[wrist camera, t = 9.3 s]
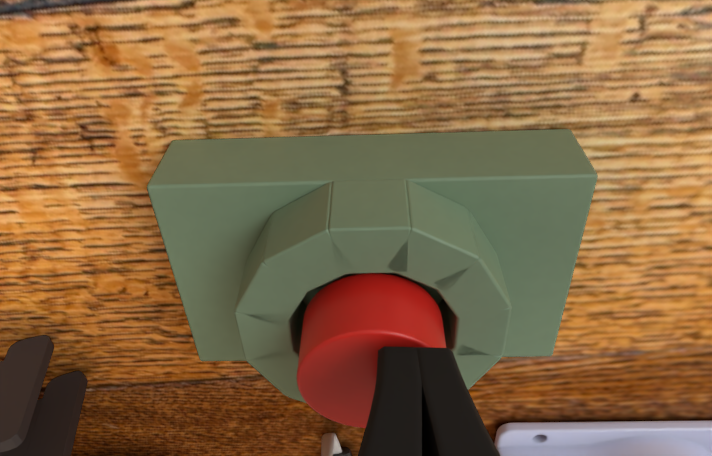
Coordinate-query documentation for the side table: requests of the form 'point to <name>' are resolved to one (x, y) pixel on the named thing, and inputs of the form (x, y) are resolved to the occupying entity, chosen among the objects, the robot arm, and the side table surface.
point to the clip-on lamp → (54, 405)
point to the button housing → (374, 235)
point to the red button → (360, 340)
